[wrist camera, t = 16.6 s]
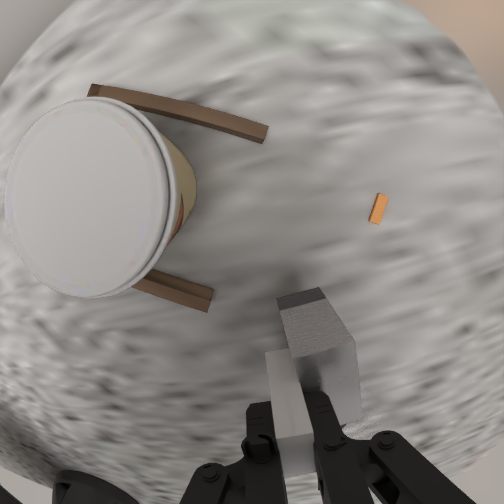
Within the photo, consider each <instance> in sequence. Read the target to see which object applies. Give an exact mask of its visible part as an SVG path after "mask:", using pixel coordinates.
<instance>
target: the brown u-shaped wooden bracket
mask: <svg viewBox="0 0 504 504" xmlns="http://www.w3.org/2000/svg"><path fill="white" fill-rule="evenodd" d="M87 97H106V98H111V99H115V100H118V101H121V102H124V103H126V104H128V105H130V106H132V107H133V108H135V109H137V110H142V111H146V112H151V113H155V114H159V115H163V116H167V117H171V118H175V119H179V120H183V121H187V122H191V123H194V124H198V125H202V126H205V127H209V128H212V129H216V130H219V131H222V132H226V133H229V134H232V135H236V136H239V137H242V138H245V139H248V140H251V141H254V142H257V143H260V144H262V143H263V141H264V138H265V136H266V133H267V130H268V127H269V126H266V125H263V124H260V123H257V122H254V121H251V120H248V119H245V118H241V117H238V116H235V115H231V114H228V113H225V112H221V111H218V110H214V109H210V108H207V107H203V106H199V105H195V104H192V103H188V102H184V101H179V100H175V99H171V98H167V97H162V96H158V95H153V94H148V93H143V92H138V91H133V90H128V89H122V88H117V87H111V86H104V85H98V84H92V85H91V87H90V90H89V92H88V95H87ZM131 287H132V288H135V289H138V290H141V291H144V292H146V293H149V294H152V295H155V296H158V297H161V298H164V299H167V300H170V301H173V302H175V303H178V304H182V305H185V306H188V307H191V308H194V309H197V310H200V311H203V312H206V313H207V311H208V308H209V305H210V302H211V298H212V295H213V291H214V289H211V288H208V287H204V286H201V285H198V284H195V283H192V282H189V281H186V280H183V279H180V278H177V277H174V276H171V275H168V274H165V273H162V272H159V271H156V270H153V269H151V270H150V271H149V272H148V273H147V274H146V275H145V276H144V277H143V278H142V279H141V280H140V281H138V282H137V283H136V284H134V285H133V286H131Z"/></svg>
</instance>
